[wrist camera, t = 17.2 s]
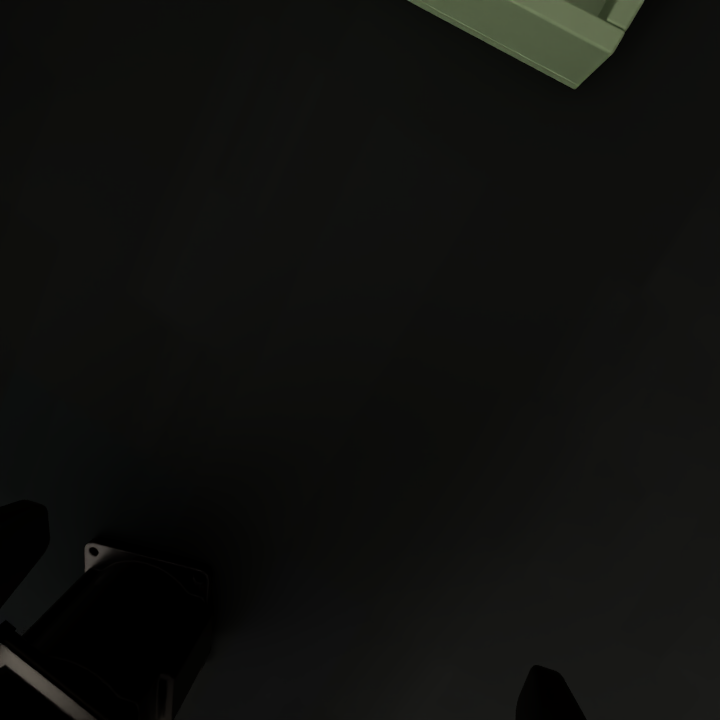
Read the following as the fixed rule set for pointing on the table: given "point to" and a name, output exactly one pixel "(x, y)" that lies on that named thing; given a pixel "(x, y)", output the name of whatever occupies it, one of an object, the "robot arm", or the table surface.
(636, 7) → the tray
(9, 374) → the table surface
